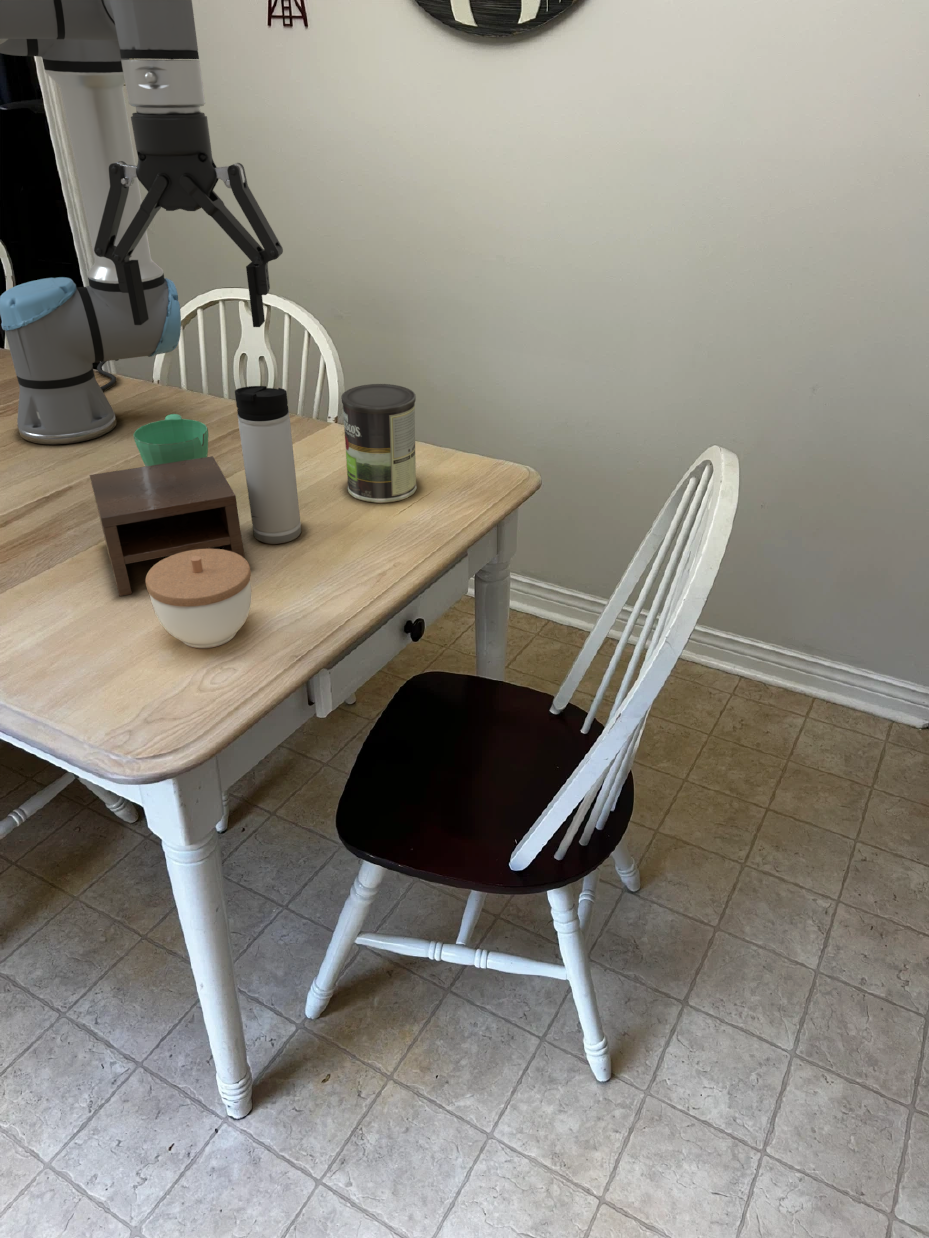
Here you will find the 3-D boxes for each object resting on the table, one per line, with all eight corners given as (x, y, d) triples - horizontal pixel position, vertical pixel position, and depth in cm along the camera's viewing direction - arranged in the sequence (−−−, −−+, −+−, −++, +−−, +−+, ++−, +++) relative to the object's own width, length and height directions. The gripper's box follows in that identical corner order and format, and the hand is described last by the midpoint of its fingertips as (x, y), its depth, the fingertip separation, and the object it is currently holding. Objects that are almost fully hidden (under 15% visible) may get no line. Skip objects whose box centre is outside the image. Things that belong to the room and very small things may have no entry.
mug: (219, 508, 122) (208, 440, 117) (145, 516, 120) (131, 447, 115) (215, 468, 134) (205, 405, 129) (148, 474, 132) (136, 410, 127)
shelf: (107, 548, 112) (89, 475, 107) (223, 526, 118) (212, 456, 112) (119, 596, 102) (100, 518, 97) (246, 570, 108) (235, 495, 102)
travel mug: (243, 541, 114) (222, 392, 103) (268, 520, 119) (250, 376, 109) (286, 549, 113) (268, 398, 102) (309, 527, 118) (295, 381, 107)
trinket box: (137, 639, 95) (119, 564, 90) (211, 597, 102) (199, 526, 97) (205, 672, 90) (191, 595, 85) (278, 626, 97) (269, 552, 92)
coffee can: (358, 508, 123) (352, 411, 115) (340, 479, 131) (333, 387, 123) (427, 497, 126) (425, 402, 118) (405, 470, 134) (402, 380, 126)
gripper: (30, 110, 86) (80, 329, 97) (282, 114, 85) (302, 333, 97) (62, 106, 92) (104, 313, 104) (296, 110, 92) (313, 316, 103)
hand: (200, 323), depth 100 cm, fingers open, 13 cm apart
